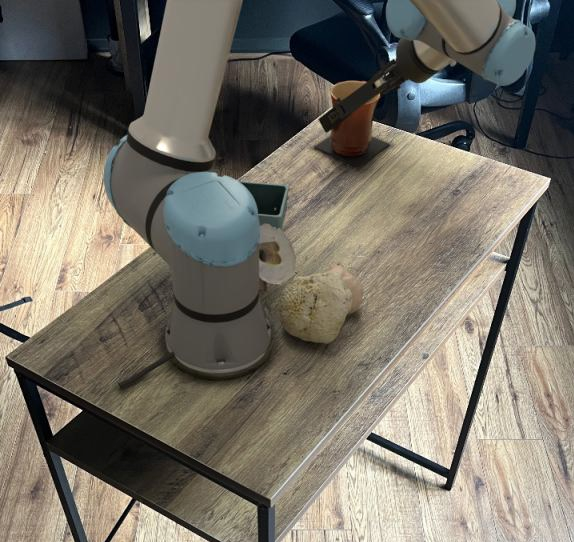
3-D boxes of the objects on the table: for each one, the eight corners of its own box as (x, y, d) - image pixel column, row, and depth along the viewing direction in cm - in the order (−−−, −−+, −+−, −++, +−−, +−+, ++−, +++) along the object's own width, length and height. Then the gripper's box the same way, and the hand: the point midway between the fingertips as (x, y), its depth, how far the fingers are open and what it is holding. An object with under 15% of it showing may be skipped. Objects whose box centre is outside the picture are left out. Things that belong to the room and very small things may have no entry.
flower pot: (225, 261, 130) (223, 211, 123) (235, 229, 136) (233, 179, 128) (280, 267, 130) (281, 217, 123) (288, 235, 135) (289, 184, 128)
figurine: (312, 233, 121) (234, 243, 130) (275, 195, 113) (194, 208, 122) (296, 301, 119) (217, 306, 128) (257, 266, 111) (176, 275, 120)
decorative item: (286, 360, 122) (254, 299, 118) (326, 332, 125) (296, 272, 122) (334, 351, 112) (300, 284, 108) (376, 320, 115) (345, 255, 112)
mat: (357, 167, 148) (357, 165, 148) (314, 148, 152) (314, 146, 152) (389, 145, 153) (389, 143, 153) (346, 127, 157) (346, 125, 156)
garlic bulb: (317, 319, 124) (341, 289, 128) (355, 325, 121) (378, 294, 125) (309, 281, 119) (334, 251, 123) (349, 286, 116) (373, 255, 120)
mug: (365, 165, 147) (372, 108, 139) (319, 155, 149) (323, 98, 141) (383, 134, 155) (391, 78, 146) (339, 125, 156) (344, 69, 148)
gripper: (397, 98, 126) (314, 158, 144) (478, 46, 138) (392, 107, 155) (372, 51, 124) (291, 118, 142) (457, 2, 135) (372, 69, 153)
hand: (343, 112), depth 149 cm, fingers closed on mug, 12 cm apart
